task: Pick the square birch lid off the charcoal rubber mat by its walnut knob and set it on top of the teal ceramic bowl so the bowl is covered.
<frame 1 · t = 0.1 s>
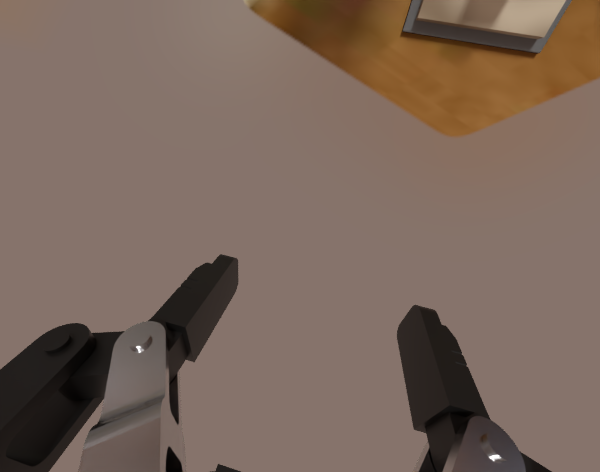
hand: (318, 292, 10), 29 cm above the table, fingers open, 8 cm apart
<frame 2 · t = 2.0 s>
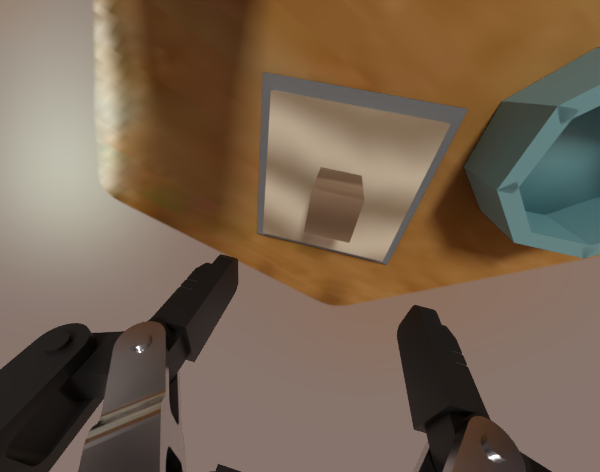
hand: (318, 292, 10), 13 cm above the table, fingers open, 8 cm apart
bowl: (559, 151, 16), on the table
mat: (337, 184, 21), on the table
lid: (336, 186, 20), resting on mat
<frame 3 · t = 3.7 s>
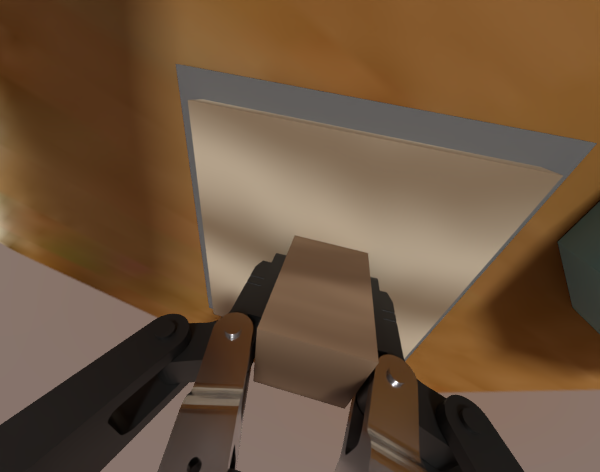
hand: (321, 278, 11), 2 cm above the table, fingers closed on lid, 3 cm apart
mat: (325, 254, 12), on the table
lid: (325, 258, 12), resting on mat, touching gripper
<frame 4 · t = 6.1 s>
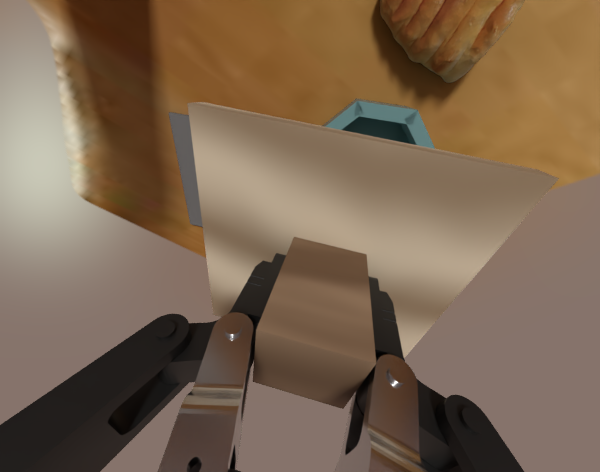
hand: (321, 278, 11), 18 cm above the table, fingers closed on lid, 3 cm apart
bowl: (363, 160, 24), on the table
mat: (236, 186, 29), on the table
pastry: (440, 20, 17), on the table
lid: (324, 259, 12), point 16 cm above the table, touching gripper
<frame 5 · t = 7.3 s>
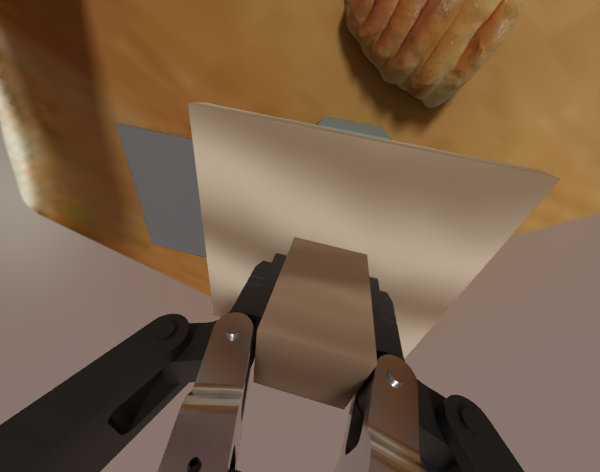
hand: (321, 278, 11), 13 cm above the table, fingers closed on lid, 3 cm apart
bowl: (337, 185, 21), on the table
mat: (198, 206, 25), on the table
pastry: (419, 34, 15), on the table
lid: (324, 259, 12), point 11 cm above the table, touching gripper
when the fingers open (8 cm above the table, at t = 8.4 s): lid drops 1 cm, resting on bowl.
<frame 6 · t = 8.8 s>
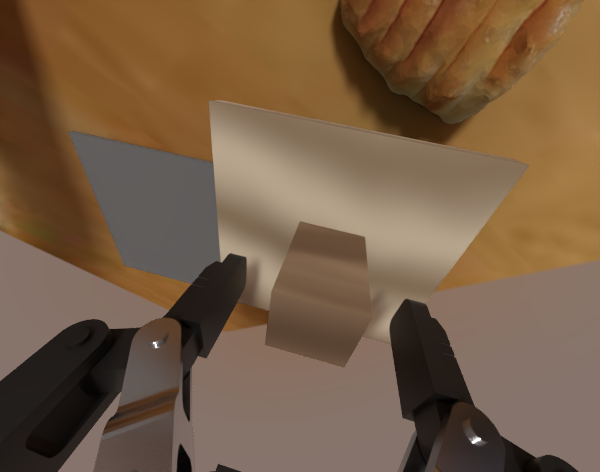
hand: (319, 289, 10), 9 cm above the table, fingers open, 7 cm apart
mat: (172, 226, 22), on the table
pastry: (436, 31, 11), on the table
lid: (326, 244, 13), point 5 cm above the table, touching bowl
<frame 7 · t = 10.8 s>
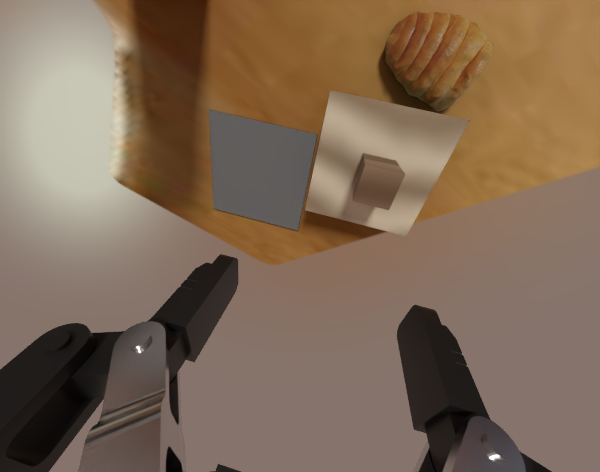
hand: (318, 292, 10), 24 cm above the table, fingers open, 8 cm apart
mat: (259, 176, 33), on the table
pastry: (430, 65, 23), on the table
lid: (372, 170, 25), point 5 cm above the table, touching bowl
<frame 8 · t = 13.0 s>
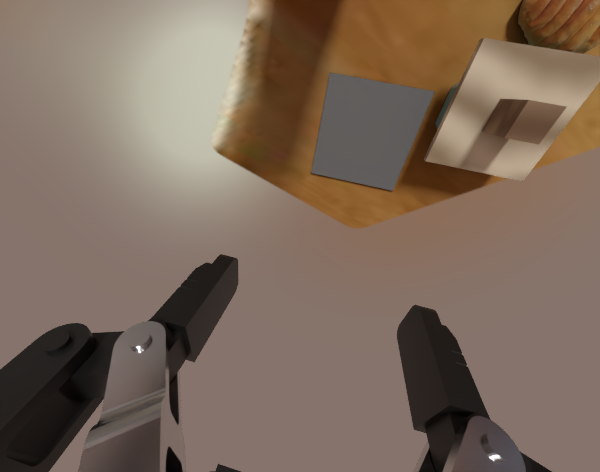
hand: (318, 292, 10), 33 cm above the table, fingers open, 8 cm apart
mat: (364, 137, 36), on the table
pastry: (557, 23, 26), on the table
lid: (501, 117, 27), point 5 cm above the table, touching bowl
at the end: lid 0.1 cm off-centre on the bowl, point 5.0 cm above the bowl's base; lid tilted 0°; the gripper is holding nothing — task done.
